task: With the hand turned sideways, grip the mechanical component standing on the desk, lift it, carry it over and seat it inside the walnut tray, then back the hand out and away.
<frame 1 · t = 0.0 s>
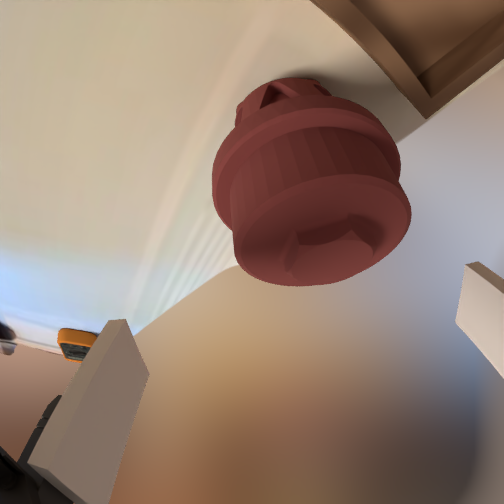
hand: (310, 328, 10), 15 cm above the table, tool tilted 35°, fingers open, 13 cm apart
multimeter: (80, 339, 57), on the table
mechanical component: (283, 110, 20), on the table
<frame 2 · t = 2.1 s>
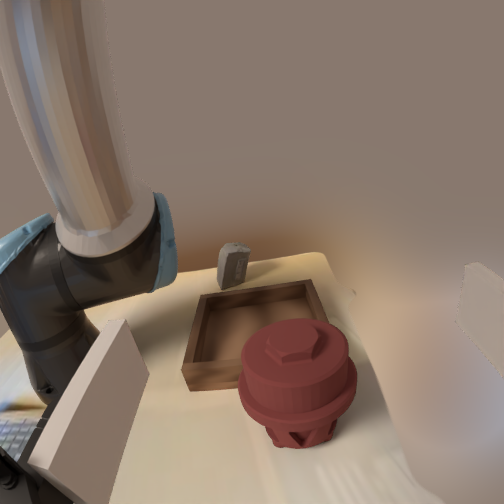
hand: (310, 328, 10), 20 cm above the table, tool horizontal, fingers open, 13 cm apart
mineral specimen: (235, 282, 61), on the table
walnut tray: (260, 339, 42), on the table
mechanical component: (301, 429, 27), on the table
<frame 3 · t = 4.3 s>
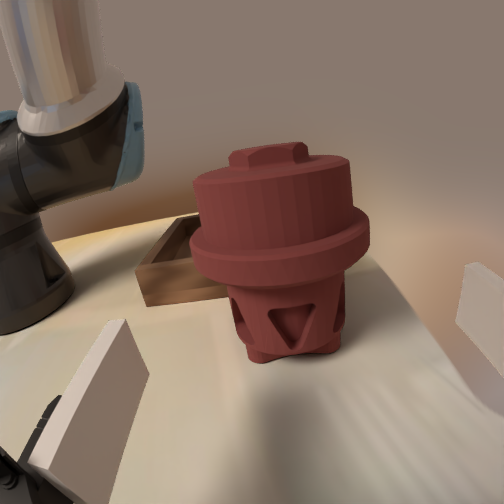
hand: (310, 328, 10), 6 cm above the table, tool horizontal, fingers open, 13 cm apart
walnut tray: (242, 256, 35), on the table
mechanical component: (292, 341, 20), on the table
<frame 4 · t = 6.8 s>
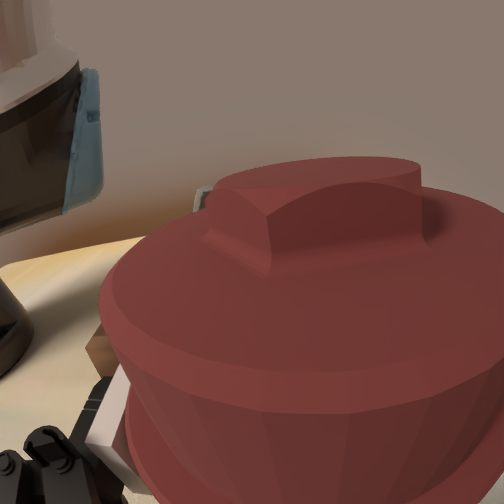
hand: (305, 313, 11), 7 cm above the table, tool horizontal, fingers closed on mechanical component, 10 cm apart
mineral specimen: (216, 240, 44), on the table
walnut tray: (244, 307, 25), on the table
mechanical component: (325, 488, 10), on the table, touching gripper
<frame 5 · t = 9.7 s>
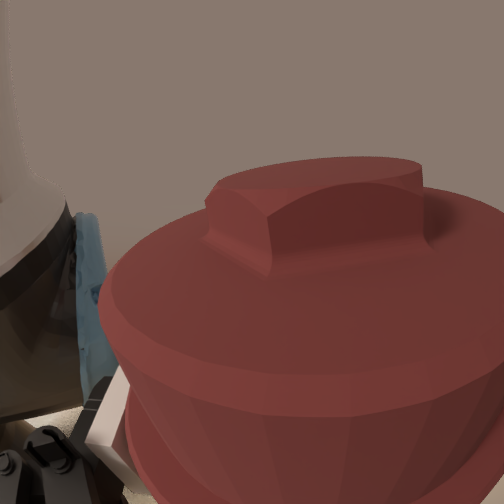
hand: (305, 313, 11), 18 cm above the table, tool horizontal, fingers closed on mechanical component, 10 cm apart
mechanical component: (326, 489, 10), point 11 cm above the table, touching gripper
when the fingers open (9 cm above the table, at t = 13.1 s): mechanical component drops 1 cm, resting on walnut tray.
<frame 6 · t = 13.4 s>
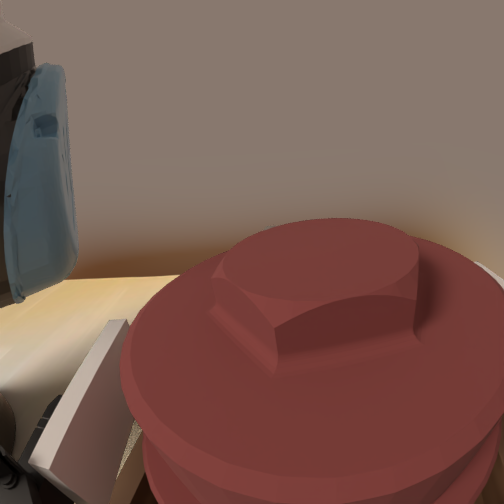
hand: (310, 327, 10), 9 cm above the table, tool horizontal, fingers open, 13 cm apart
mechanical component: (321, 500, 10), point 1 cm above the table, touching walnut tray
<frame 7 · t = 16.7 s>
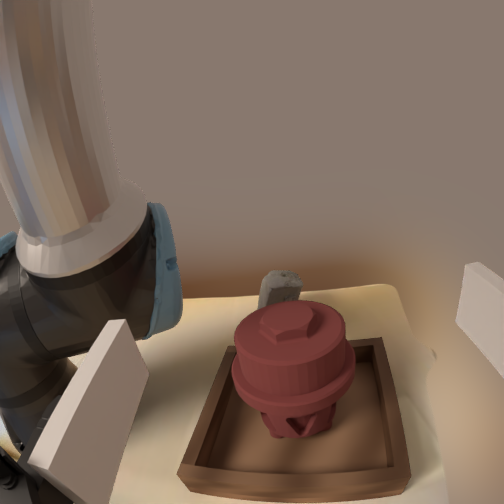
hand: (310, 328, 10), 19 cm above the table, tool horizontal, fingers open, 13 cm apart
mineral specimen: (280, 321, 46), on the table
walnut tray: (301, 425, 26), on the table
mechanical component: (299, 420, 26), point 1 cm above the table, touching walnut tray
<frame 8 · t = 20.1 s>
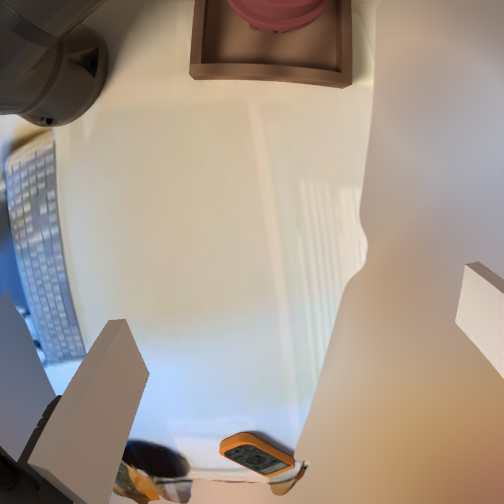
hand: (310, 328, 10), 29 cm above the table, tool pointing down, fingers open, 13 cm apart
multimeter: (257, 449, 58), on the table
walnut tray: (272, 17, 29), on the table
mechanical component: (271, 15, 28), point 1 cm above the table, touching walnut tray
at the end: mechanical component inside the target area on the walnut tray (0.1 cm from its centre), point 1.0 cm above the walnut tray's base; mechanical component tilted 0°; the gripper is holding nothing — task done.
